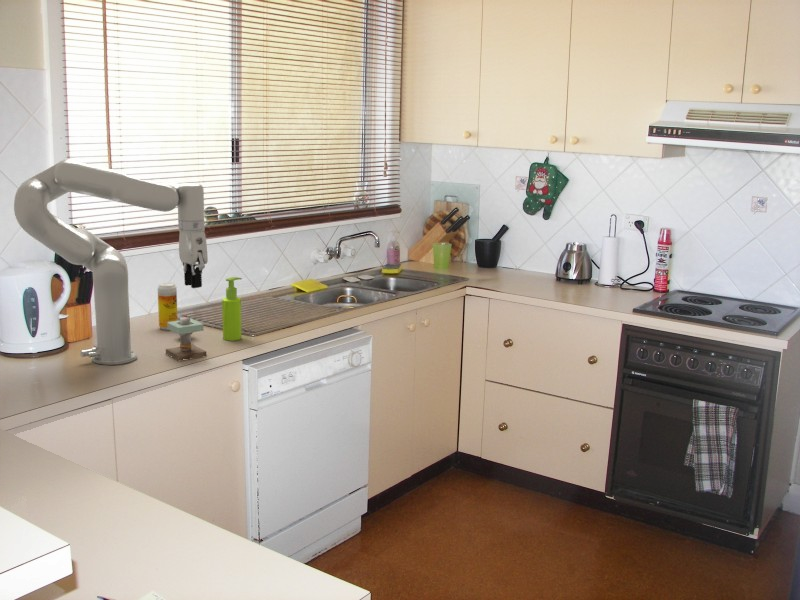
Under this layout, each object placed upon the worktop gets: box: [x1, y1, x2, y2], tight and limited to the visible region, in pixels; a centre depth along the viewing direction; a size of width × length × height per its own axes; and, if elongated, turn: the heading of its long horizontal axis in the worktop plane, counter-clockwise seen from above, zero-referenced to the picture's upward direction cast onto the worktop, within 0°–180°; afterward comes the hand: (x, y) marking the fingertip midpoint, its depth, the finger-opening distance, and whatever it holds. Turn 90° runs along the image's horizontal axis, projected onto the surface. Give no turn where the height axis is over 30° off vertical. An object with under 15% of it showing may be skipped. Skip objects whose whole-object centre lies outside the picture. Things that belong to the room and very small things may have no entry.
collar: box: [167, 318, 205, 335], centre depth 261 cm, size 8×8×2 cm
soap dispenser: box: [221, 276, 243, 341], centre depth 281 cm, size 6×7×20 cm
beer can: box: [157, 282, 179, 331], centre depth 291 cm, size 6×6×15 cm
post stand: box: [165, 316, 208, 361], centre depth 262 cm, size 9×9×12 cm
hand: (193, 285), depth 260 cm, fingers open, 3 cm apart
